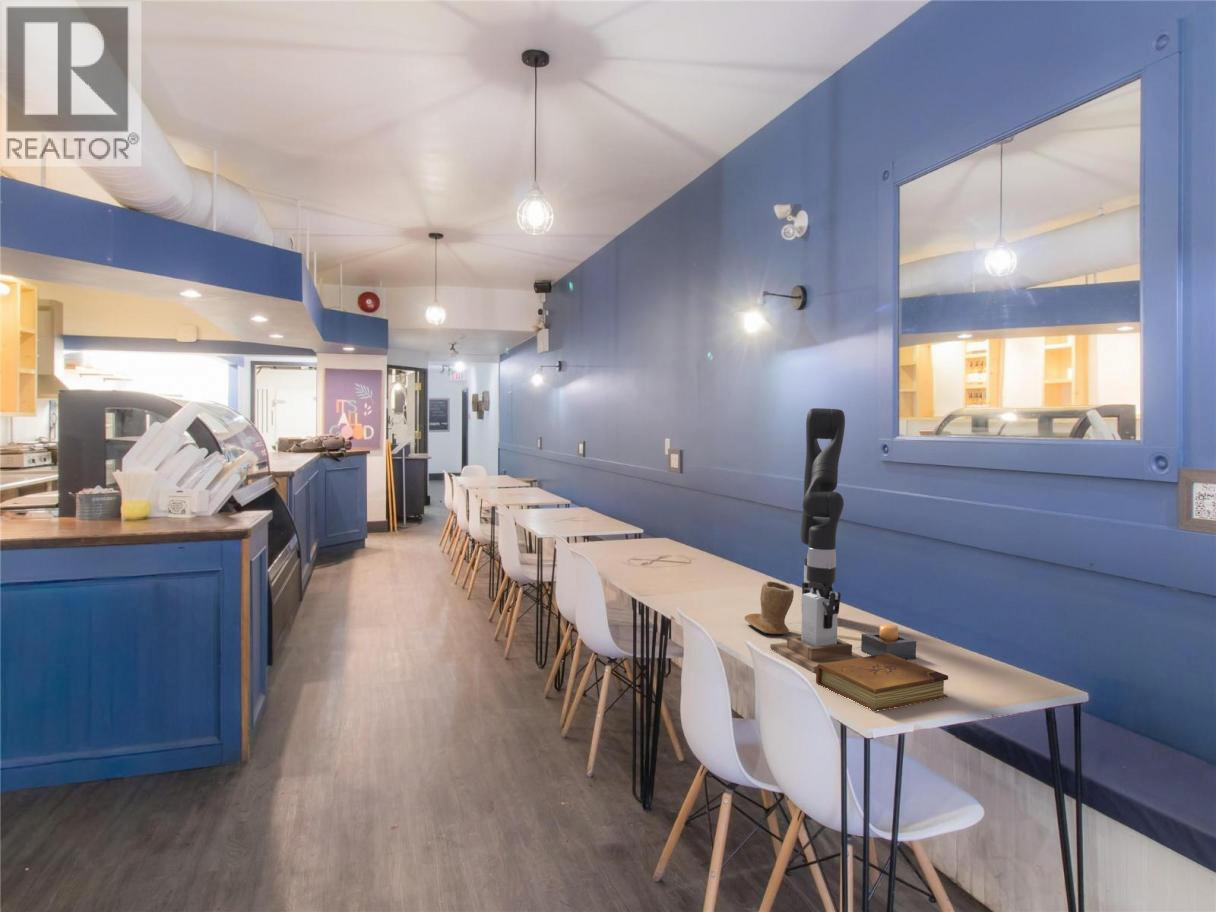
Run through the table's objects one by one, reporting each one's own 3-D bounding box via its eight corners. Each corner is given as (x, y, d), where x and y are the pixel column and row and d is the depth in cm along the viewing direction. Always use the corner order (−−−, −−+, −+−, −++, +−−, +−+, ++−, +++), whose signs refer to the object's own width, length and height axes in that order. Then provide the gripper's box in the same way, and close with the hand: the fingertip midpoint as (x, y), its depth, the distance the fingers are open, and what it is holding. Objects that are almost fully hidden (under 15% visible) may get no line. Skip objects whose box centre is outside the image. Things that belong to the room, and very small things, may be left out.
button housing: (861, 651, 196) (861, 633, 196) (889, 648, 199) (890, 631, 199) (886, 662, 186) (886, 644, 186) (915, 659, 190) (916, 641, 190)
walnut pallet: (770, 649, 196) (770, 633, 196) (823, 643, 202) (823, 628, 202) (813, 672, 177) (814, 655, 177) (870, 665, 183) (871, 649, 183)
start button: (875, 639, 194) (875, 625, 194) (889, 637, 196) (889, 623, 196) (887, 644, 190) (888, 629, 189) (901, 642, 191) (902, 628, 191)
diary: (885, 674, 179) (885, 652, 179) (947, 700, 162) (948, 675, 162) (815, 685, 170) (816, 662, 169) (874, 714, 153) (875, 688, 152)
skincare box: (821, 641, 195) (822, 589, 194) (838, 647, 189) (839, 594, 189) (799, 646, 191) (800, 592, 190) (816, 652, 185) (817, 597, 185)
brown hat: (799, 636, 210) (800, 587, 209) (762, 637, 207) (763, 588, 207) (777, 622, 225) (778, 576, 224) (742, 624, 222) (744, 577, 222)
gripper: (794, 560, 195) (792, 619, 195) (826, 570, 181) (824, 633, 182) (816, 558, 197) (815, 617, 198) (850, 568, 184) (848, 631, 184)
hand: (819, 624), depth 190 cm, fingers closed on skincare box, 6 cm apart
